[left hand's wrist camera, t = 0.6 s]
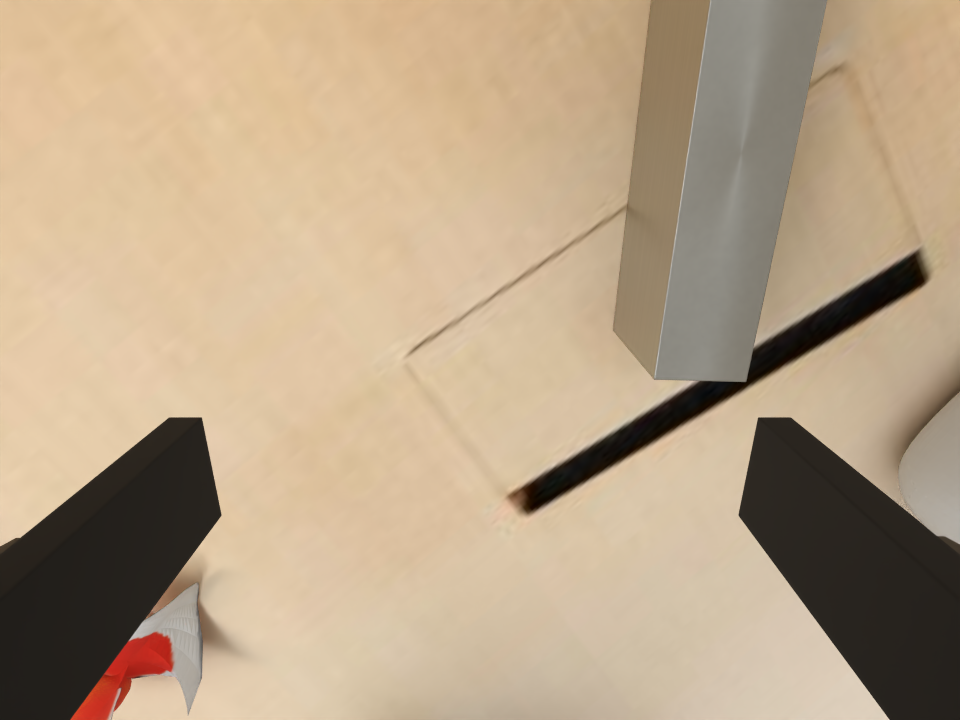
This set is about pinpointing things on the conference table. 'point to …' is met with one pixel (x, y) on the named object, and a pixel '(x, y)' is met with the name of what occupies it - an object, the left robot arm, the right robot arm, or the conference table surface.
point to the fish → (153, 657)
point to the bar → (710, 179)
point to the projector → (935, 473)
